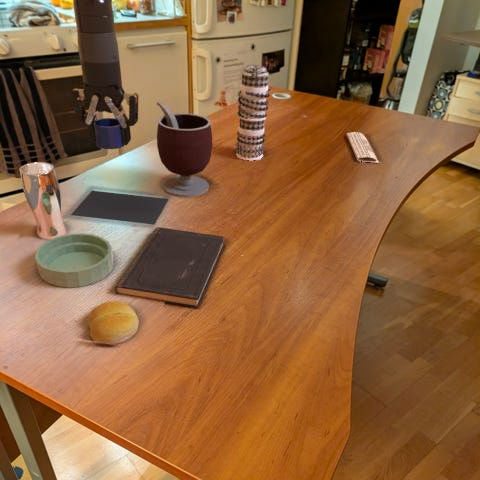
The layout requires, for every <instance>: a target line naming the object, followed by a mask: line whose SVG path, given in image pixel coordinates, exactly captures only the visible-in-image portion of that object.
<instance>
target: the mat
mask: <svg viewBox="0 0 480 480" xmlns="http://www.w3.org/2000/svg"><path fill="white" fill-rule="evenodd" d="M168 201H169V198H164V197H157V196H156V197H155V196H149V195H148V196H146V195H137V194H128V193H120V192H109V191H100V190H91V191H90V192H89V194H88V195H86V197H85V198H84V199H83V200H82V201H81V202H80V203H79V204H78V205H77V207H75V209H74V210H73V211H72V213H71V214H70V216H74V217H83V218H91V219H101V220H108V221H109V220H110V221H117V222H125V223H126V222H127V223H135V224H144V225H155V224H156V223H157V221H158V219H159V217H160V215H161V213H162V212H163V210H164V208H165V206H166V205H167V203H168Z"/></svg>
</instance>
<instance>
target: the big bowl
mask: <svg viewBox="0 0 480 480" xmlns="http://www.w3.org/2000/svg"><path fill="white" fill-rule="evenodd" d="M112 247H113V246H112V244H110V242H109V241H108V240H107V239H105V238H104V237H102V236H99V235H96V234H93V233H87V232H86V233H85V232H79V233H77V232H76V233H66V234H65V235H62V236H58V237H55V238H53V239H50V240H49V239H47V241H45V242H43V243H42V244H40V246H39V247H37V249H36V251H35V254H34V260H35V263H36V267H37V271H38V274H39V276H40V278H41V279H42V281H44V282H45V283H47V284H49V285H52V286H55V287H60V288H68V289H69V288H81V287H84V286H89V285H93V284H96V283H97V282H100V281H102V280H104V278H106V277H107V276H108V275H110V274H111V272H112V271H113V269H114V255H113V248H112Z"/></svg>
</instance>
